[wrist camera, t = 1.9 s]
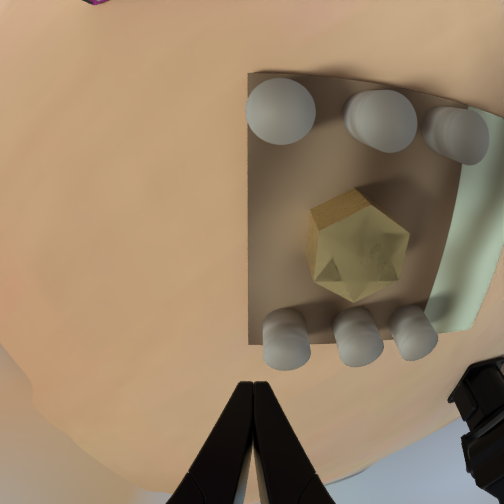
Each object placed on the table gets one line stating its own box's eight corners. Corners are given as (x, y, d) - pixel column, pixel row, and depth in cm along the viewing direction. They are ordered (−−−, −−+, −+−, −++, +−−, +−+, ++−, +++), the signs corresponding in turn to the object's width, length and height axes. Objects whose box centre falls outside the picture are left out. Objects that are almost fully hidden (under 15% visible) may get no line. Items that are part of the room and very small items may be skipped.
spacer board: (520, 125, 14) (554, 136, 11) (466, 324, 23) (485, 351, 19) (248, 74, 15) (245, 66, 11) (248, 337, 23) (247, 375, 20)
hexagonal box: (392, 190, 17) (415, 207, 14) (377, 274, 19) (392, 301, 17) (311, 185, 17) (321, 202, 14) (303, 274, 19) (310, 303, 17)
